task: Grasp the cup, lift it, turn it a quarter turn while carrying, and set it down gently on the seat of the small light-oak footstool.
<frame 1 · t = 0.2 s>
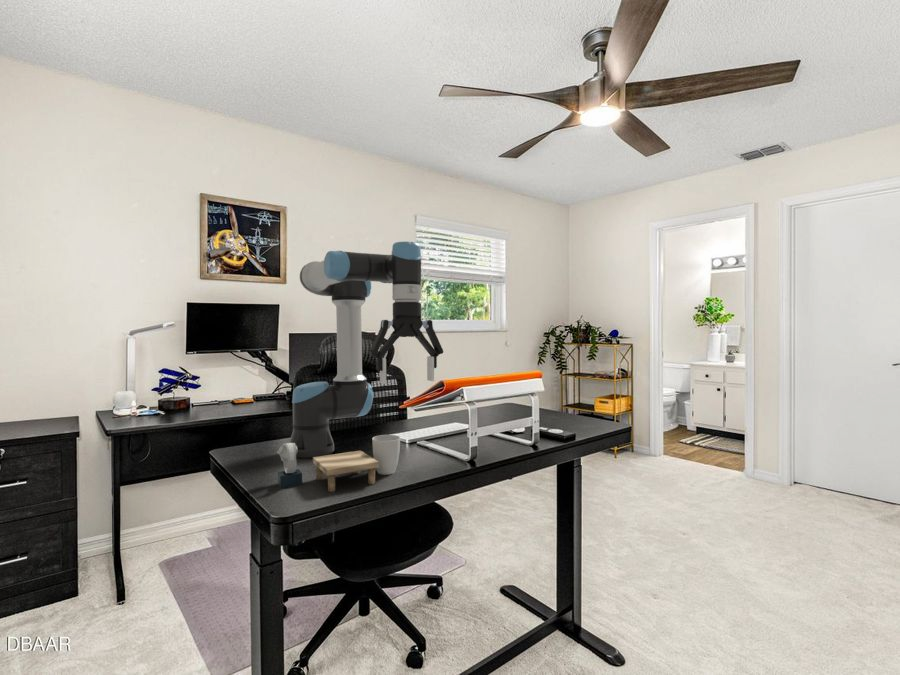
hand: (407, 382, 127), 28 cm above the table, fingers open, 13 cm apart
watch: (289, 484, 129), on the table
footstool: (345, 481, 131), on the table
cup: (386, 472, 139), on the table
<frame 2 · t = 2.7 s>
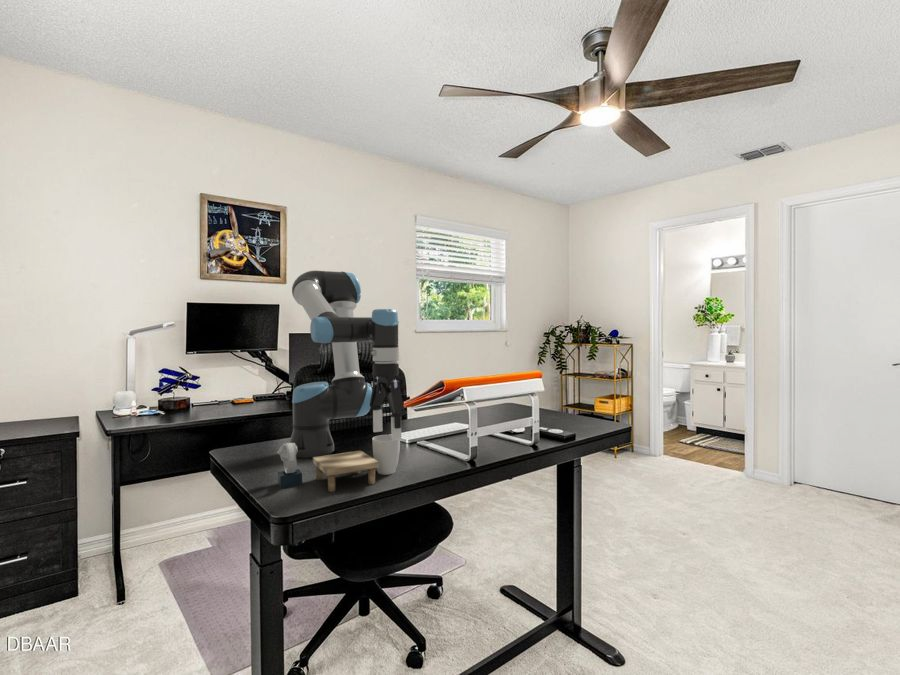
hand: (386, 435, 139), 11 cm above the table, fingers open, 13 cm apart
nothing on the table moved.
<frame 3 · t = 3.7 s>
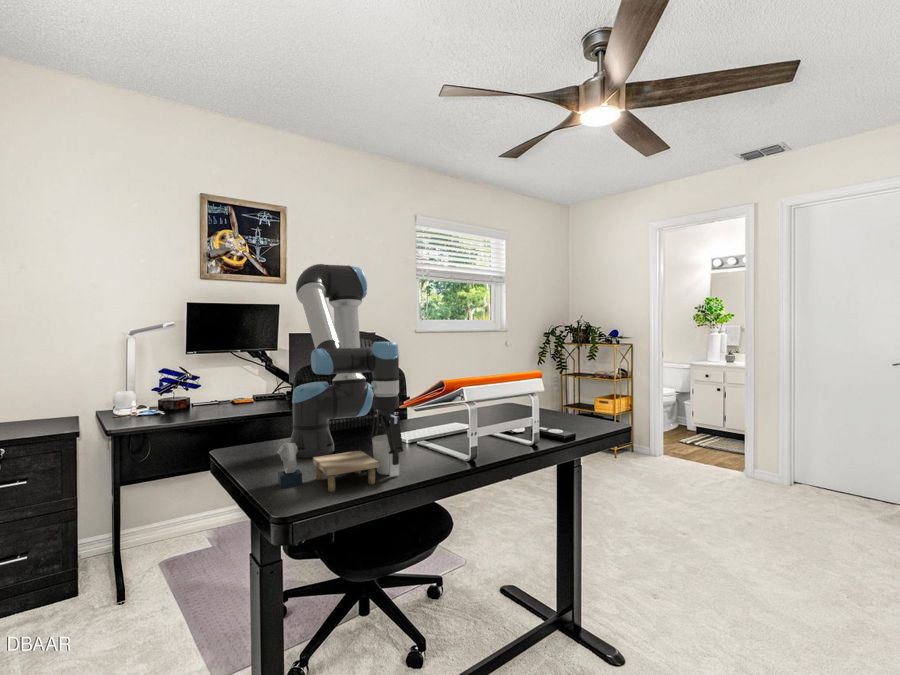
hand: (386, 470, 139), 0 cm above the table, fingers open, 10 cm apart
nothing on the table moved.
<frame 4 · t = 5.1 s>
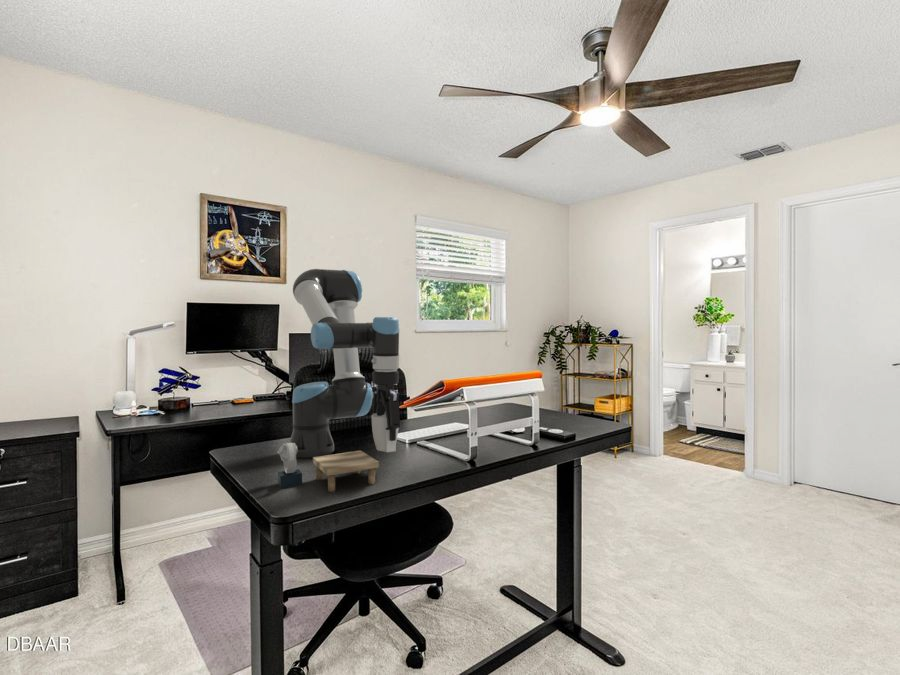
hand: (385, 447, 140), 7 cm above the table, fingers closed on cup, 8 cm apart
cup: (385, 449, 140), point 6 cm above the table, touching gripper
everything else where it was.
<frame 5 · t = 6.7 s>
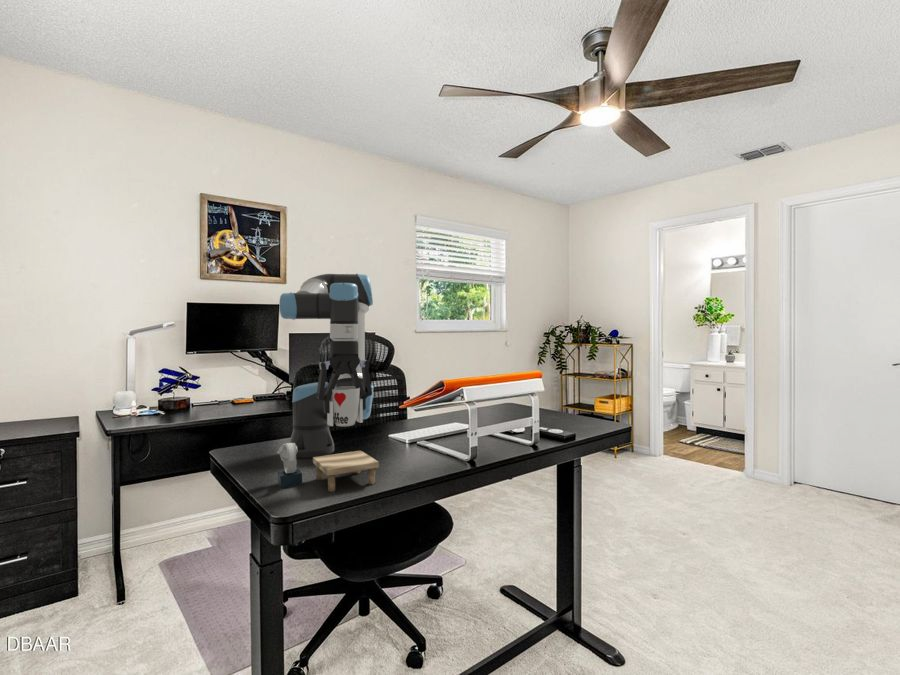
hand: (345, 423, 131), 16 cm above the table, fingers closed on cup, 8 cm apart
cup: (345, 425, 131), point 15 cm above the table, touching gripper
everything else where it was.
when the fingers open (8 cm above the table, at t = 8.5 s): cup drops 1 cm, resting on footstool.
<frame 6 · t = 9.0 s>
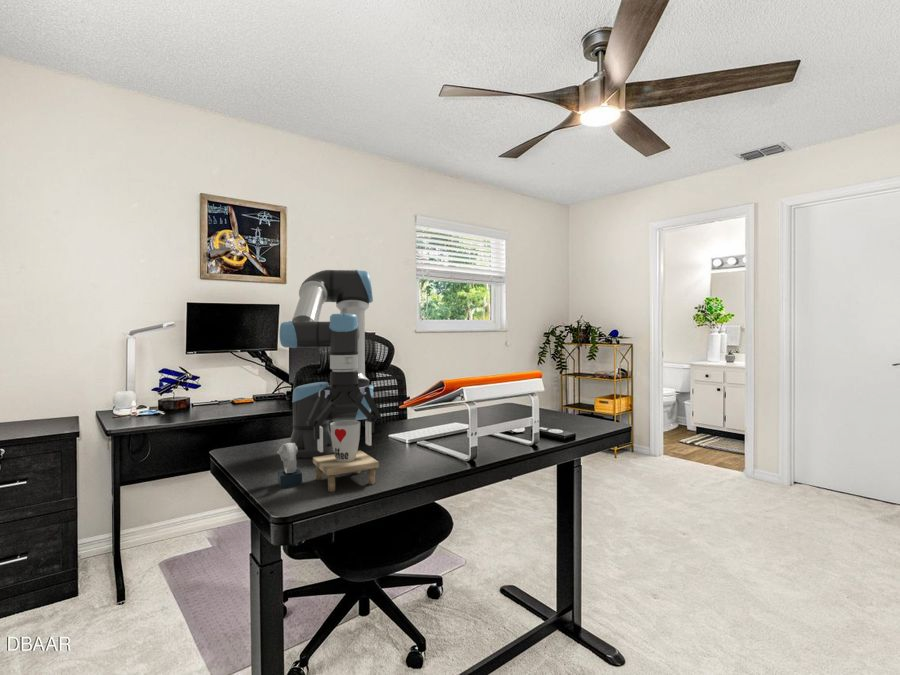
hand: (345, 447, 131), 9 cm above the table, fingers open, 13 cm apart
cup: (345, 460, 131), point 6 cm above the table, touching footstool
everything else where it was.
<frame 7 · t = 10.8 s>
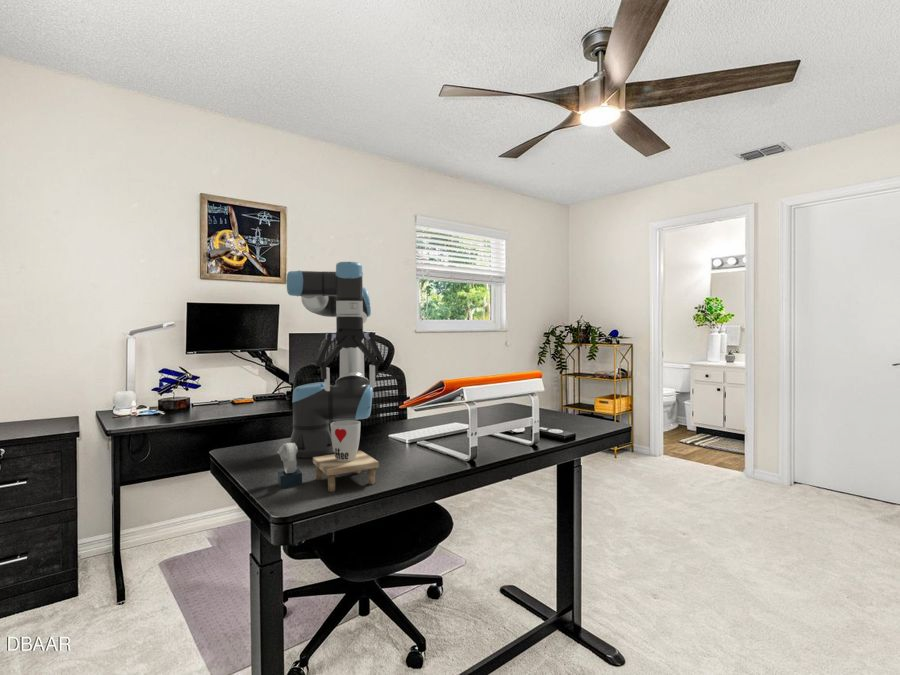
hand: (350, 388, 140), 24 cm above the table, fingers open, 13 cm apart
nothing on the table moved.
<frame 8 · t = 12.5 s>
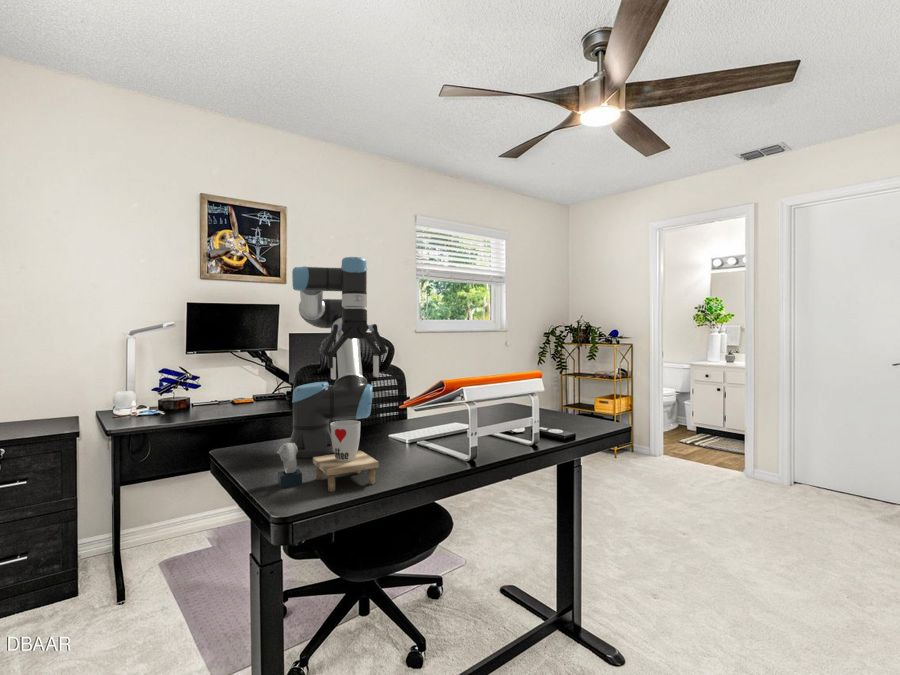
hand: (355, 377, 147), 27 cm above the table, fingers open, 13 cm apart
nothing on the table moved.
at the end: cup inside the target area on the footstool (0.2 cm from its centre), point 5.8 cm above the footstool's base; cup touching footstool; cup tilted 0° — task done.
